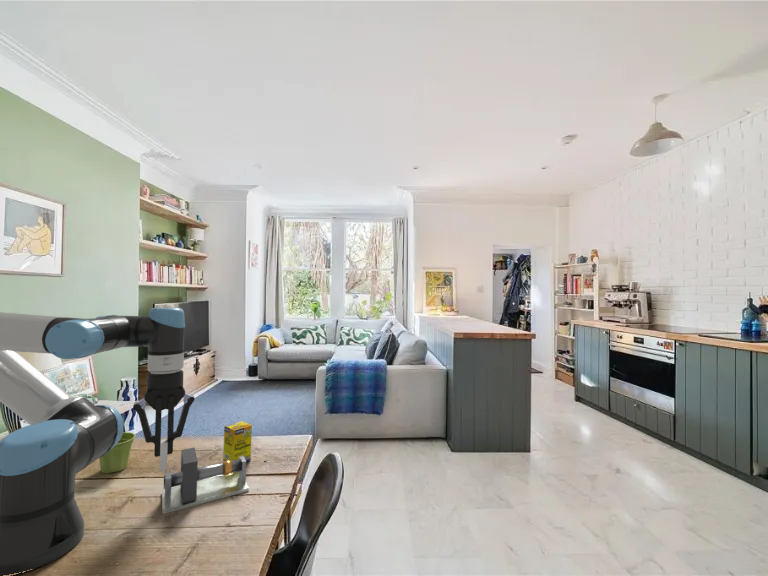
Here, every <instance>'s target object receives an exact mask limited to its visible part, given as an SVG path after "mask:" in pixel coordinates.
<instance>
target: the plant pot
mask: <svg viewBox="0 0 768 576" xmlns="http://www.w3.org/2000/svg"><path fill="white" fill-rule="evenodd" d="M136 436H137V435H136V433H134V432H124V431H123V434H122V437H121V439H120V440H119V442H118V443H117V444H116V445H115V446H114V447H113V448H112V449H111V450H110V451H109V452H108V453H107V454H106V455H104V456H102V457H101V458H98V459H99V465H100V471H101V473H103V474H112V473H114V472H120V471H123V470H124V469H126V468H127V467H128V464H129V459H130V454H131V449H132V445H133V443H134V439H135V438H136Z"/></svg>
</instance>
